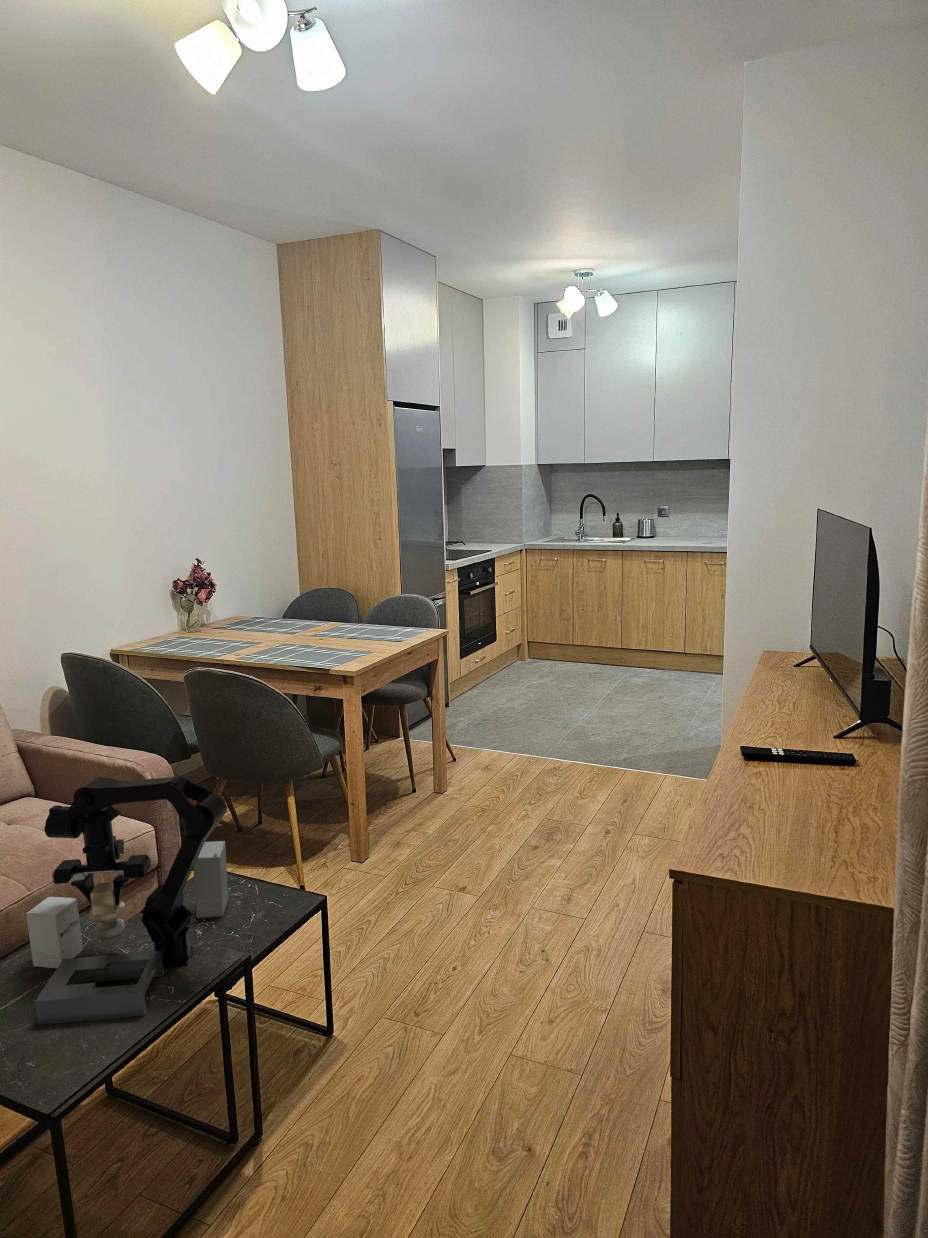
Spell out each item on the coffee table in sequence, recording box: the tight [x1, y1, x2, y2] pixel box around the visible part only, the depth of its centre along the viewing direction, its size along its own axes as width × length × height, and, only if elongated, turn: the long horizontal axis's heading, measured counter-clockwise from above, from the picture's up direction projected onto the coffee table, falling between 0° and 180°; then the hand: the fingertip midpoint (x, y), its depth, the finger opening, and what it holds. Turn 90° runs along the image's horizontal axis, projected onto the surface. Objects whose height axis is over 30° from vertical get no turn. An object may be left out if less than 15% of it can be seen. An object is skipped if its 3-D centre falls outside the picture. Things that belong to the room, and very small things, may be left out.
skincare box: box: [192, 840, 229, 919], centre depth 197 cm, size 8×7×16 cm
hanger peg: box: [89, 881, 126, 941], centre depth 179 cm, size 7×7×10 cm
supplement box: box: [25, 896, 84, 969], centre depth 180 cm, size 7×7×13 cm
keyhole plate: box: [34, 950, 165, 1026], centre depth 166 cm, size 20×14×5 cm
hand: (106, 905), depth 179 cm, fingers closed on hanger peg, 4 cm apart
